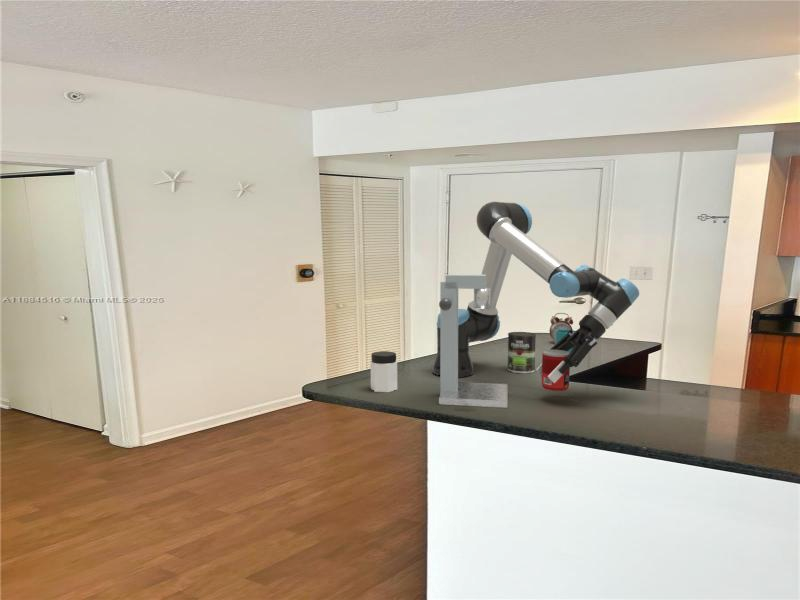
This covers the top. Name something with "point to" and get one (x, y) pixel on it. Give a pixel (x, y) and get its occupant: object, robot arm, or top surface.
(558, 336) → the cup
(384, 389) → the jar
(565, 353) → the canned food
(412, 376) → the top surface
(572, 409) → the top surface
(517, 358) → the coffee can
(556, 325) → the alarm clock
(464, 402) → the press
